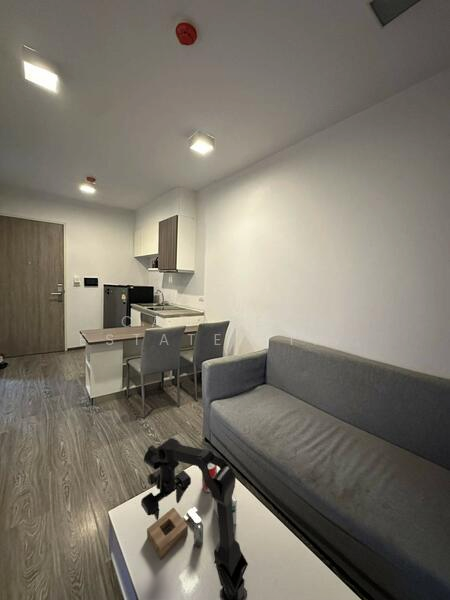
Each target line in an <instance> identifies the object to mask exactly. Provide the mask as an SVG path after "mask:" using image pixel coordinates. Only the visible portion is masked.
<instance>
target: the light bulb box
mask: <svg viewBox="0 0 450 600" xmlns="http://www.w3.org/2000/svg"><path fill="white" fill-rule="evenodd" d="M236 498H237V497H235V494H234V493H233V495H232V508H233V522H234V526H235V525H237V505H238V504H237V503H238V501H237V499H236ZM213 508H214V511H215V514H216V516H217V518H218V512H217V502H216V501H215V500H214V499H213Z"/></svg>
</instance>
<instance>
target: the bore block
mask: <svg viewBox="0 0 450 600" xmlns="http://www.w3.org/2000/svg"><path fill="white" fill-rule="evenodd" d="M188 525H189V524H188V523H187V522H186V521H185V520H184V519H183V517H182V516H181V515H180V513H179V512H178V511H177V510H176V508H175V507H172V508H171V509H170V510H169V511H168V510H167V512H166V513H165V514H164V515H161V517H159V518H158V520H156V521H154V522H153V523H152V524H151V525H149V527H147V528H146V533H147V534H146V536H147V537H146V538H147V540H148V542H149V543H150V545H151V546H152V548H153V550H154V552H155V553H156V556H158V558H159V560H160V561H161V560H162V559H164V557H165V556H166V555H167V554H169V553H170V552H171V551H172V550H173V549H174V548H175V547H176V546H177V545H178V544H179V543H180V542H182V540H183V539H185V538H186V537H187V535H188V533H189V526H188ZM169 528H170V529H171V530H170V531H169V532H168V533H167V534H166V535H165V532H166V531H167V530H168V529H169Z"/></svg>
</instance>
